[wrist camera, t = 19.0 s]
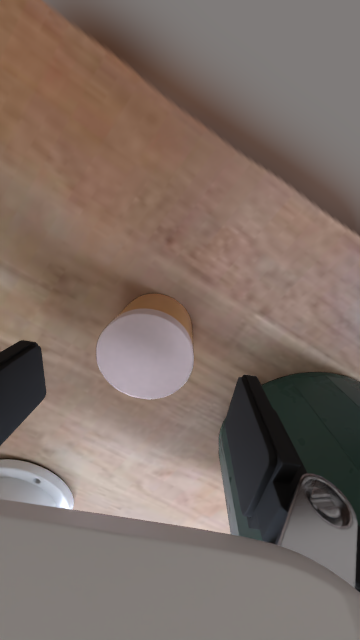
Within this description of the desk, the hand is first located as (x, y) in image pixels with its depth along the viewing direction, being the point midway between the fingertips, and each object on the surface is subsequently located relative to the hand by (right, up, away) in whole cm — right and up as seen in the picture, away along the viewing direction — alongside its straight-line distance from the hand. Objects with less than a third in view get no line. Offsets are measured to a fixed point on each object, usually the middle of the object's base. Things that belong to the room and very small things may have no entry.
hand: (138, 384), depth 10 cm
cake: (0, +2, +7) cm, 8 cm away
